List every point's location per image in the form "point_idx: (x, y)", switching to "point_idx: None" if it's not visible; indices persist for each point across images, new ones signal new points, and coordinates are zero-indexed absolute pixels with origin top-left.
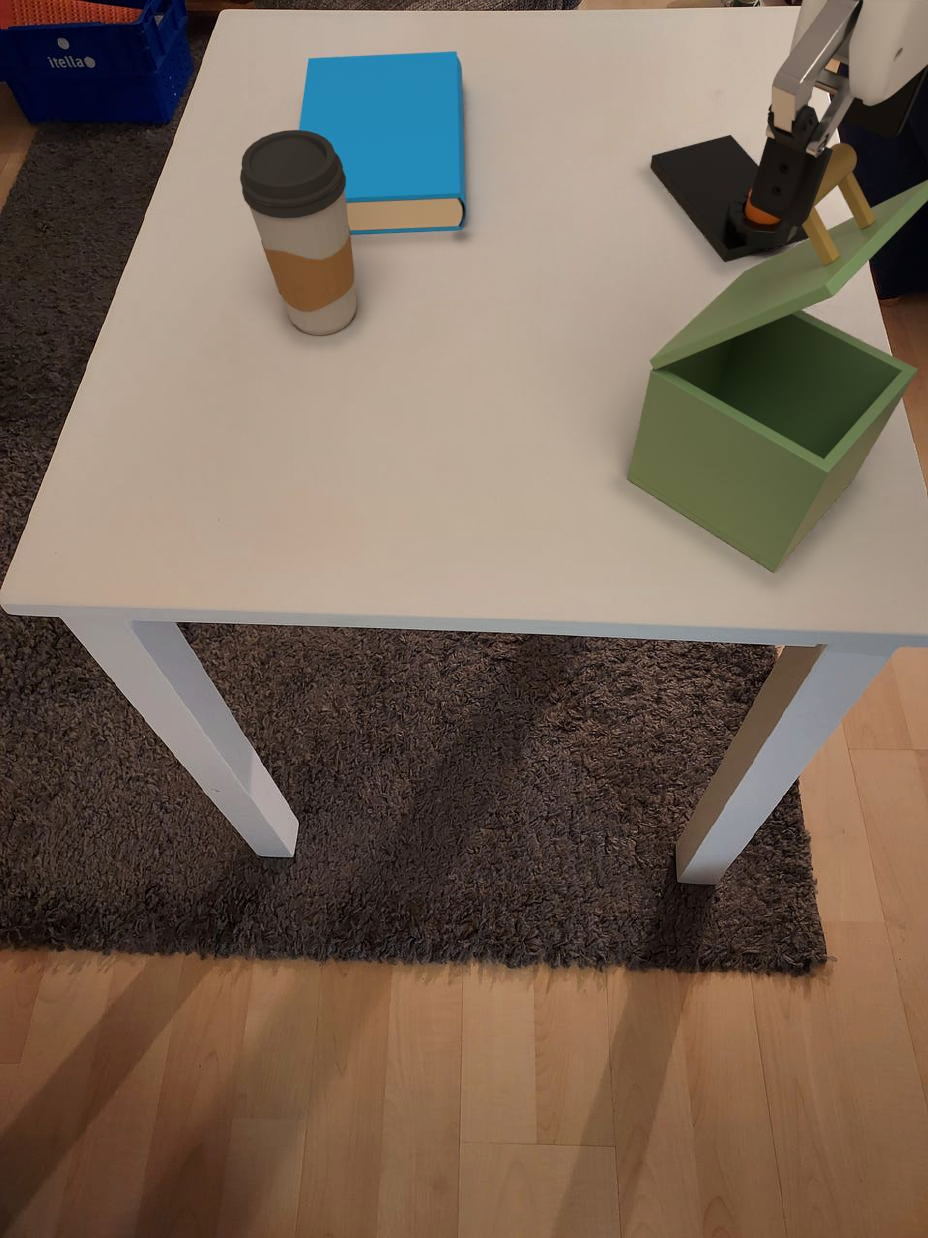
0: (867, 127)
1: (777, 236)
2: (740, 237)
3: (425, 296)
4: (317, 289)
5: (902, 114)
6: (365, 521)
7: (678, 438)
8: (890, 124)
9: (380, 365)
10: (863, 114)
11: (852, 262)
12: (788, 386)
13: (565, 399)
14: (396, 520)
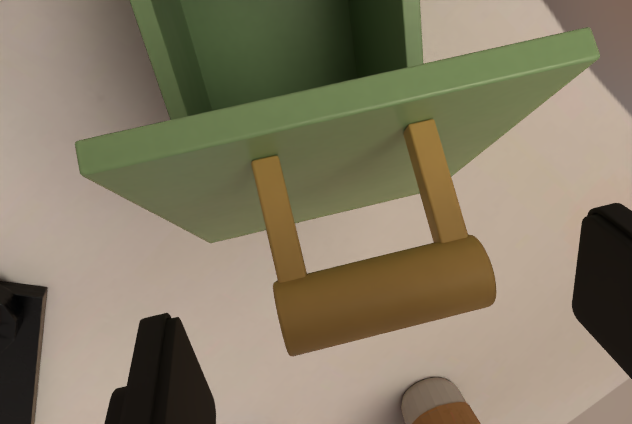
0: (197, 364)
1: None
2: (17, 305)
3: (350, 378)
4: (468, 418)
5: (167, 360)
6: (571, 207)
7: None
8: (179, 347)
9: (436, 334)
10: (202, 399)
11: (495, 72)
12: (192, 76)
13: (340, 223)
14: (555, 194)
